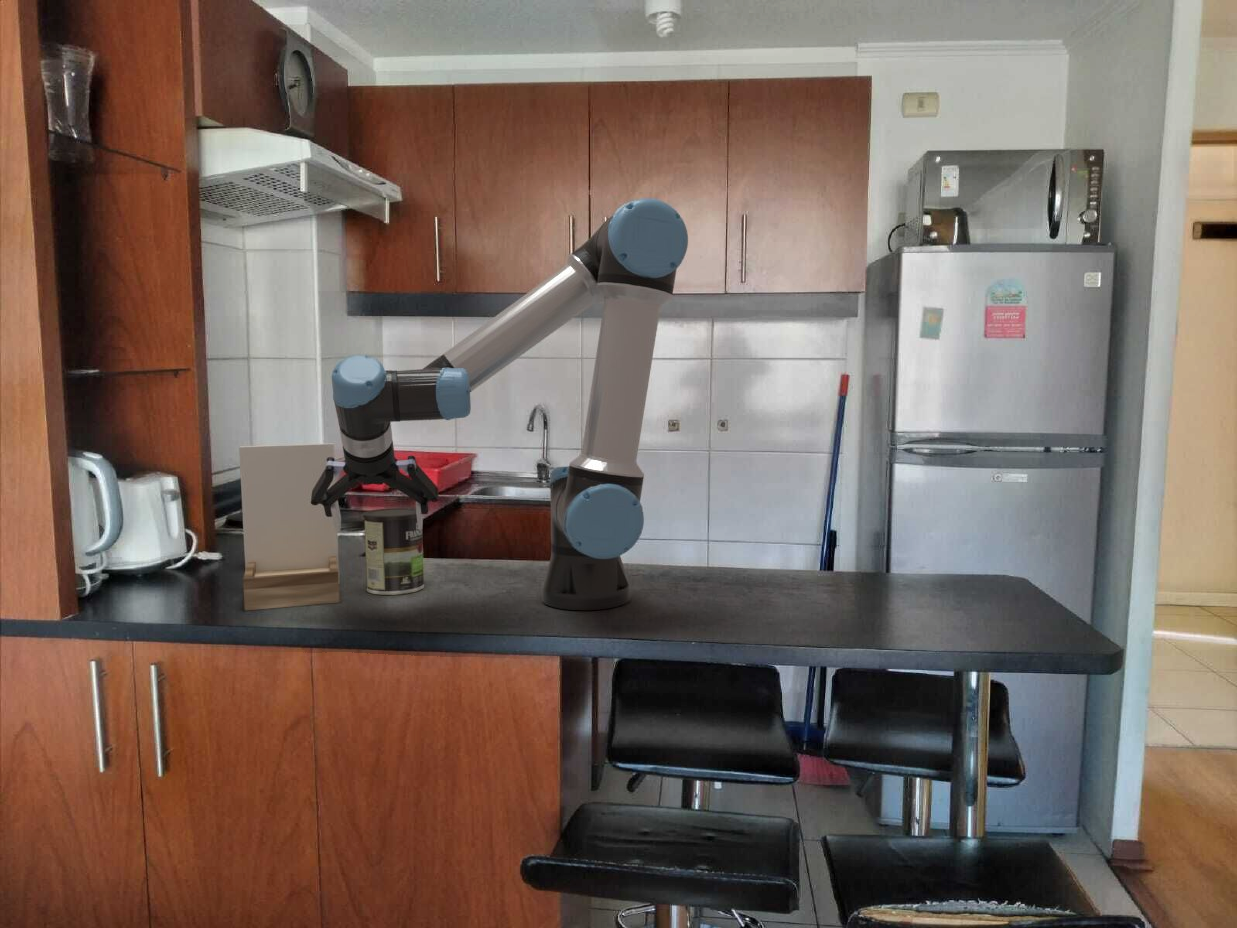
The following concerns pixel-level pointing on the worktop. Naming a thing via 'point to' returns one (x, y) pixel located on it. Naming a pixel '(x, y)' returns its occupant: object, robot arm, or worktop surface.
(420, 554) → the coffee can
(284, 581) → the shelf
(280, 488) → the beige flat upright panel
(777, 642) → the worktop surface
